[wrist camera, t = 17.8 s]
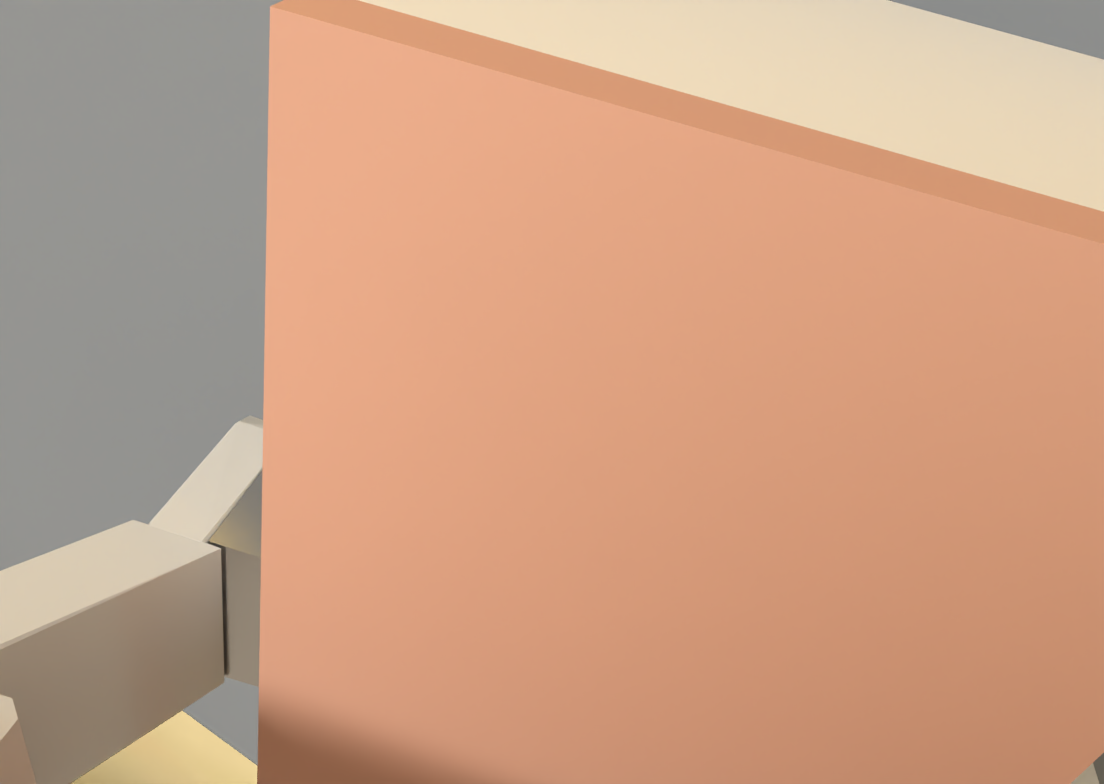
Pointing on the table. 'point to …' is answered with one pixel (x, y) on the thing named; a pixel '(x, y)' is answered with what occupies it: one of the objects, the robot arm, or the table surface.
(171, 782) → the table surface
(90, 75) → the mat
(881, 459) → the block
